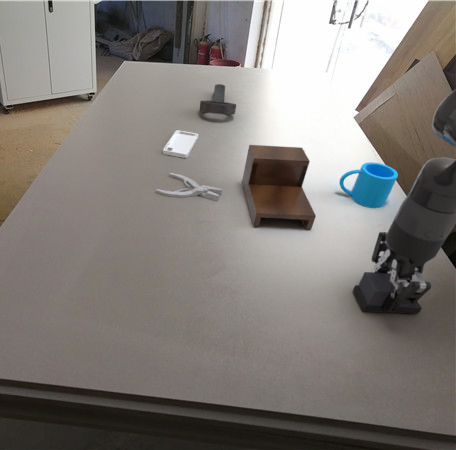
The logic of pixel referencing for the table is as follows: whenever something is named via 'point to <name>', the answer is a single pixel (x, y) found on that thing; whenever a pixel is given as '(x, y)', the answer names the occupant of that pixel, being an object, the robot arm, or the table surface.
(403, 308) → the dark block
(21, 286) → the table surface
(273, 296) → the table surface
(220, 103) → the dark gray mallet
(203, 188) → the pliers
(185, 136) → the phone case
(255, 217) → the wooden chair model
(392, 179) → the mug
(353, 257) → the table surface
